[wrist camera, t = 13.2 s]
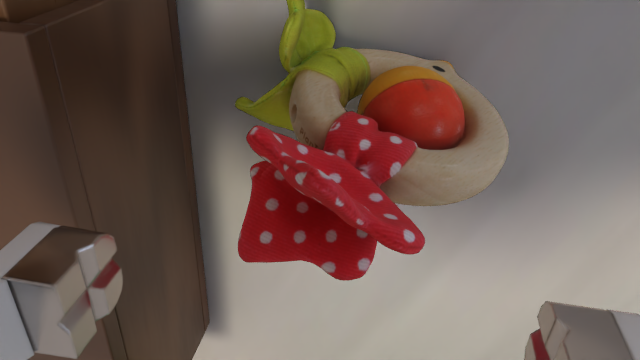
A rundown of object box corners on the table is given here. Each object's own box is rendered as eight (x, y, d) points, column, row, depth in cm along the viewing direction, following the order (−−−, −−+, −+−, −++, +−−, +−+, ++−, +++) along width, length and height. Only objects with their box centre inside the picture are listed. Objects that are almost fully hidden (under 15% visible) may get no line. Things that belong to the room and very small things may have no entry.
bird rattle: (454, -21, 20) (219, -42, 17) (681, 105, 11) (267, 97, 8) (416, 121, 23) (216, 119, 21) (565, 304, 14) (247, 339, 12)
